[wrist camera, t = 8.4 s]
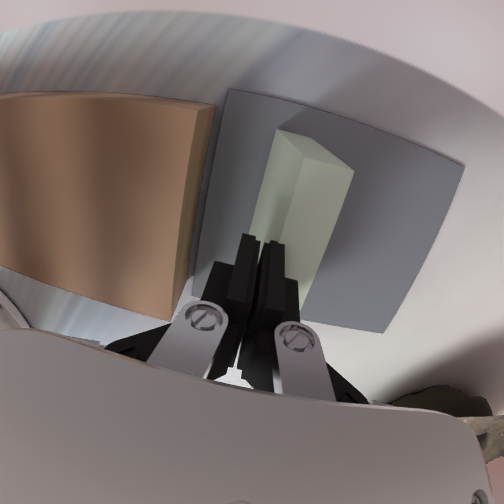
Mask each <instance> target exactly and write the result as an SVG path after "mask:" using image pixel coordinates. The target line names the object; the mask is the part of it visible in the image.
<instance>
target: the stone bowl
mask: <svg viewBox="0 0 504 504" xmlns="http://www.w3.org/2000/svg"><path fill="white" fill-rule="evenodd" d="M392 403H393V404H390V405H392V406H396V407H406V408H418V409H426V410H433V411H438V412H441V413H445V414H448V415H451V416H453V417H456V418H458V419H460V420H461V421H463V422H465V423H466V424H467V425H469V426H470V428H471V429H472V430H473V432H474V433H475V435H476V437H477V439H478V442H479V444H480V447H481V449H482V452H483V455H484V458H485V461H486V464H487V463H488V462H489V461H492V460H493V459H495V458H498V457H500V456H504V415H500V416H493V415H492V411H491V408H490V406H489V404H488V402H487V400H486V399H484V398H483V397H481V396H479V397H469V396H467V395H464V394H463V393H462V392H461V391H459V390H457V389H455V388H453V387H450V386H434V387H430V388H428V389H425V390H424V391H422V392H421V393H419V394H414V395H410V394H409V395H406V396H403V397H402V398H400V399H398V400H397V401H394V402H392Z"/></svg>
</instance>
